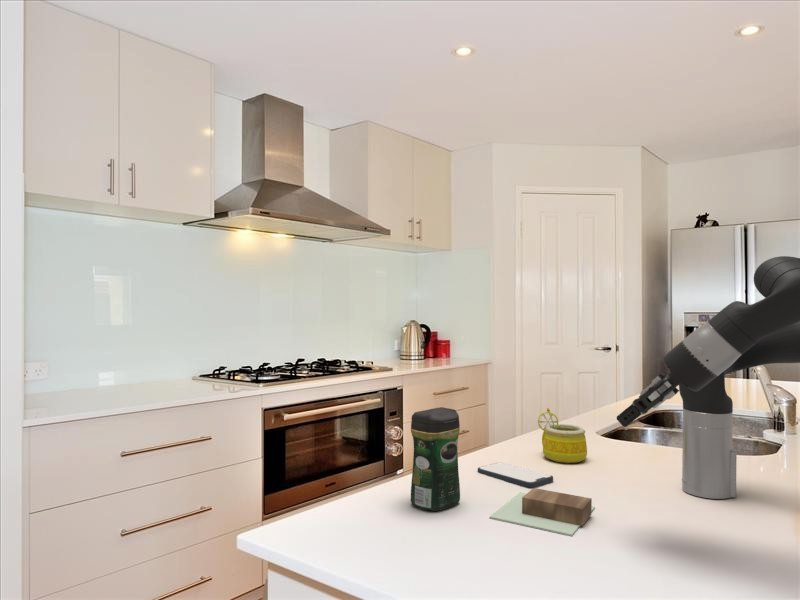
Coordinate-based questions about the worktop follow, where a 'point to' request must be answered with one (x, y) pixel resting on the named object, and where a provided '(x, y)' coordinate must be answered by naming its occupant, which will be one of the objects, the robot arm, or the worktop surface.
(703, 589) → the worktop surface
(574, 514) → the walnut block
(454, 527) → the worktop surface
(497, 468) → the smartphone
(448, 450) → the coffee jar
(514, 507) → the mat
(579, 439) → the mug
